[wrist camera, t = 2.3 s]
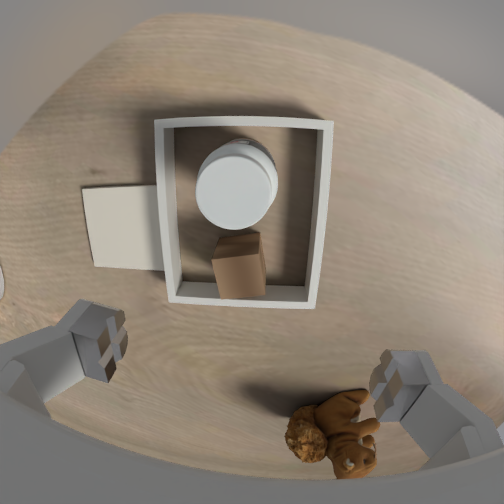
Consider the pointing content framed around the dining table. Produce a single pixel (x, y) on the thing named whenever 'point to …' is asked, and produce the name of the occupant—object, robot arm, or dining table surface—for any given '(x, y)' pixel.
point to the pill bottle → (236, 184)
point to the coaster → (124, 226)
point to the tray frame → (169, 223)
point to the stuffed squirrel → (335, 434)
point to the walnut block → (239, 266)
